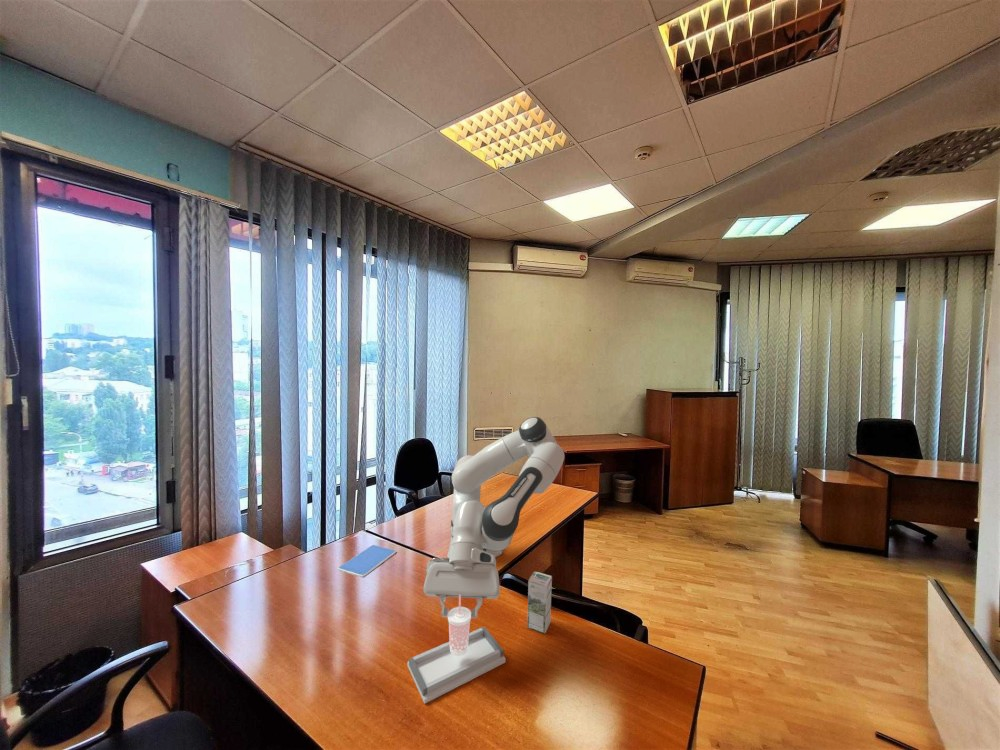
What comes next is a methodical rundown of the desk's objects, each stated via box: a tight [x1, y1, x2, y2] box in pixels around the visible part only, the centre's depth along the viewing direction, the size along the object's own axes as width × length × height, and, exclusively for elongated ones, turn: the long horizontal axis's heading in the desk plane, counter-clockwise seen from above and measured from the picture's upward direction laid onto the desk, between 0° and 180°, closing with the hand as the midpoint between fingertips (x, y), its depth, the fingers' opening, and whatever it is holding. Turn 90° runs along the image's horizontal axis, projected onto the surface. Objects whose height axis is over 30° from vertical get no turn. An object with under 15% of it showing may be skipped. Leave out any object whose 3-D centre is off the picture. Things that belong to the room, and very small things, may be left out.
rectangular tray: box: [406, 626, 506, 704], centre depth 92 cm, size 22×12×2 cm, turn 123°
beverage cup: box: [447, 594, 472, 656], centre depth 91 cm, size 6×6×14 cm
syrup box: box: [526, 571, 553, 634], centre depth 106 cm, size 6×6×14 cm
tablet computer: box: [337, 544, 397, 578], centre depth 139 cm, size 19×13×1 cm, turn 158°
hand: (459, 617), depth 91 cm, fingers closed on beverage cup, 6 cm apart
